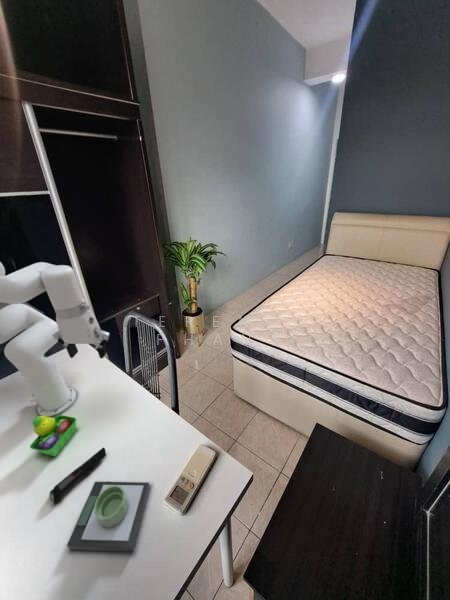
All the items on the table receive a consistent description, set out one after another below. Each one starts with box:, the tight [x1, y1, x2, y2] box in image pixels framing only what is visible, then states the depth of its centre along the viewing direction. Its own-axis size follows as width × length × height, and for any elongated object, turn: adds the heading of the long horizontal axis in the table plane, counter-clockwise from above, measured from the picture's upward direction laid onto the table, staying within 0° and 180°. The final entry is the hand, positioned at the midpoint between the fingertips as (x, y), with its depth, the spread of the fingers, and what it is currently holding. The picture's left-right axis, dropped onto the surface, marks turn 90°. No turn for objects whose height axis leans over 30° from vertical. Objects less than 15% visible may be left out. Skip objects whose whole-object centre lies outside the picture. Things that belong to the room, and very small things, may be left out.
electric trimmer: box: [49, 447, 107, 505], centre depth 70 cm, size 4×16×3 cm, turn 142°
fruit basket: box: [29, 414, 77, 458], centre depth 78 cm, size 11×9×11 cm
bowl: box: [94, 485, 129, 527], centre depth 60 cm, size 7×7×5 cm
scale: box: [66, 481, 151, 553], centre depth 62 cm, size 15×13×3 cm
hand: (89, 355), depth 78 cm, fingers open, 9 cm apart
